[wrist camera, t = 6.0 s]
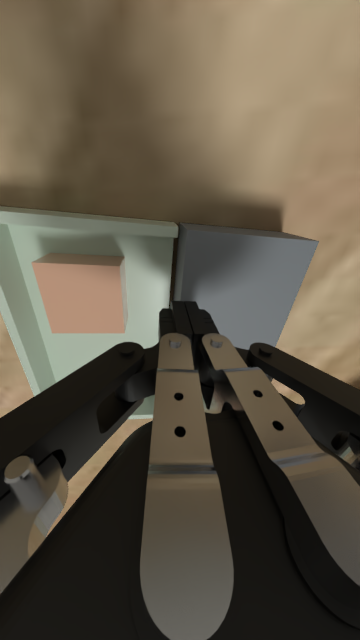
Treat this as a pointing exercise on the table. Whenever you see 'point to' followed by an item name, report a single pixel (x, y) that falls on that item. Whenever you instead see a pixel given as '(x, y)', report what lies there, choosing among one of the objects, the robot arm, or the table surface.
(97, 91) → the table surface
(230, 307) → the grey flat block
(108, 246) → the tray
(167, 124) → the table surface
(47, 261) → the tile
